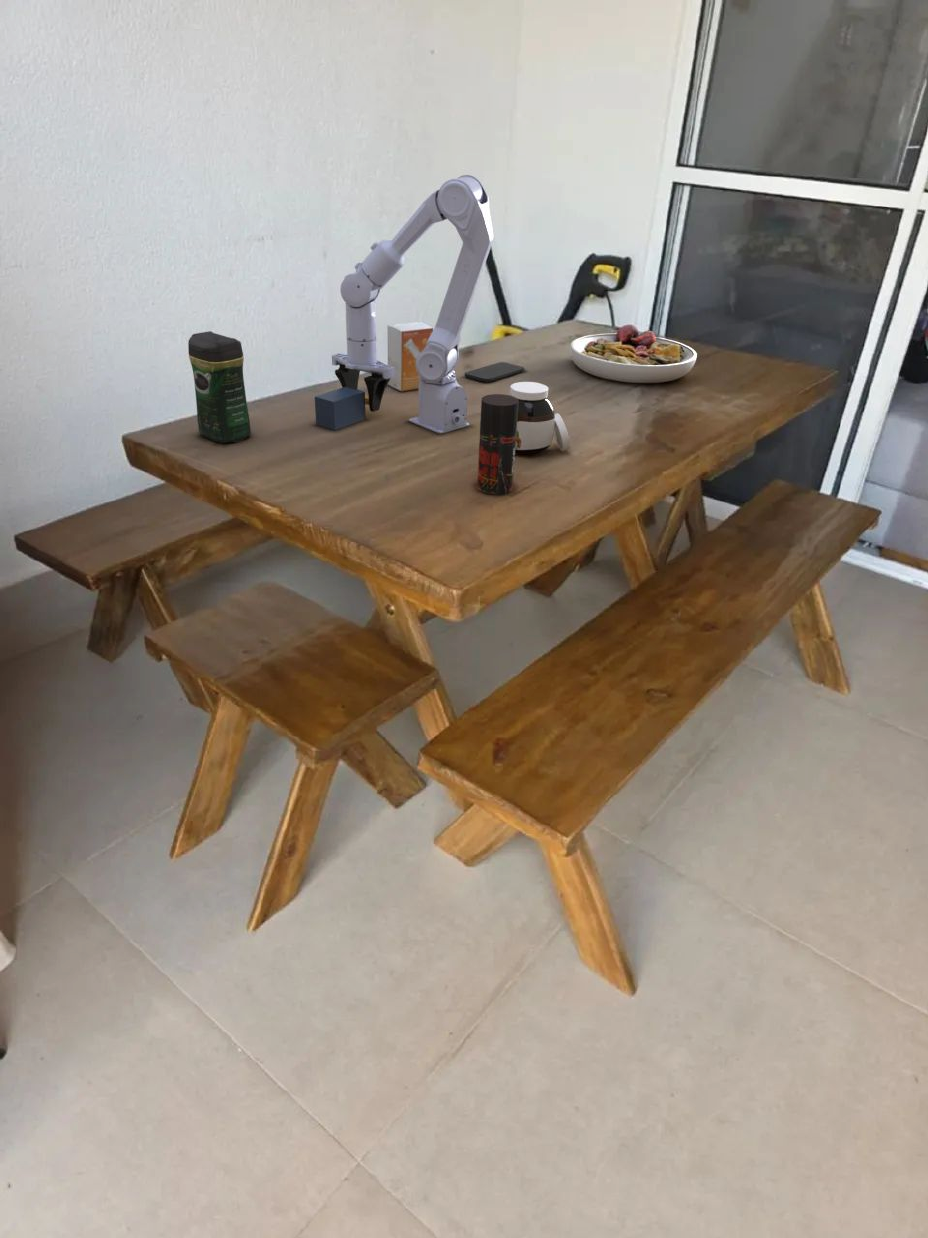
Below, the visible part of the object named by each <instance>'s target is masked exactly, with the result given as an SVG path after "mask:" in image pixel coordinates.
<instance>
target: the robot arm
mask: <svg viewBox="0 0 928 1238" xmlns="http://www.w3.org/2000/svg"><path fill="white" fill-rule="evenodd" d="M445 220H447V221H449V222H450V223H451V224H452V225H453V226H454V227H455V229H456V231H457V233H458V235H459V237H460V239H461V241H462V245H461V249H460V251H459V255H458V257H457V260H456V263H455V266H454V270H453V272H452V275H451V278H450V281H449V284H448V287H447V290H446V293H445V296H444V298H443V302H442V305H441V307H440V310H439V314H438V317H437V320H436V322H435V326H434V327H433V332H432V334H431V335H430V337H429V339H428V342H427V345H426V347H425V348H424V350H423V351H421V352H420V353H419V355H418V356H417V358H416V363H415V364H416V370H417V373H418V374H419V389H418V410H417V411H418V413H417V414H418V416H415V417H411V418H409V419H408V421H409V422H410V423H412V424H415V425H416V426H419V427H421V428H424V429H427V430H430V431H431V432H435V433H437V434H440V435H441V434H446V433H449V432H452V431H453V432H454V431H456V430H459V429H462V428H466V427H469V426H470V423H469V422H467V413H468V412H467V411H468V393H467V391H466V389H465V387H463V386H462V385H460V384H459V383H458V381H457V375H456V372H455V369H454V368H455V367H456V365H457V364H458V362H459V359H460V353H459V352H460V351H459V345H460V343H461V339H462V338H461V337H462V336H461V334H462V333H461V332H462V329H463V328H464V324H465V321H466V318H467V316H468V312H469V310H470V306H471V304H472V302H473V299H474V295H475V293H476V290H477V287H478V285H479V282H480V279H481V276H482V273H483V271H484V268H485V265H486V262H487V260H488V256H489V254H490V251H491V249H492V245H493V243H494V231H493V229H494V228H493V224H492V217H491V210H490V196H489V195H488V193H487V191H486V188H484V185H483V184H482V182H481V181H480V180H479V179H478V177H476V176H474V175H470V174H464V175H461V176H458V177H457V178H450V179H448V180H446V181H445V182H444V183H442V184H441V186H440V188H438V189H436V190H435V191H434V192H433V193H431V194H430V195H429V196H428V197H427V198H426V199H425V200H424V201H423V202H422V203H421V204H420V206H419V207H418V208H417V210H415V211H414V213H413V214H412V215H411V216H410V218H409V219H408V220H407V221H406V223H404V225H403V226H402V227H401V229H400V230H398V232H397V233H396V234H395V236H394V237H393V238H392V239H391V240H390V239H381V240H380V241H379V242H378V241H376V242H374V243H373V244H372V245H371V246H370V249H371V252H369V254H368V255H367V256H366V257H365V258H364V259H363V260H362V262H357V263H356V264H355V265H354V269H355V271H354V272H352V273H348V274H347V275H345V276H344V279H343V280H342V282H341V284H340V296H341V298H342V299H343V301H344V302H345V331H346V332H345V333H346V353H347V354H344V353H339V352H338V353H335V354H334V353H333V354H332V355H331V365H332V366H339V367H338V368H337V369H335V370H334V375H335V376H336V378H337V379H338V382H339V383H340V385H341V388H343V387H345V386H346V387H350V388H353V389H357V390H359V389H358V388H359V379H360V373H361V372H363V373H368V374H371V375H368V376H365V377H363V381H364V383H365V386H366V390H367V394H368V397H369V405H368V407H369V411H370V412H372V413H374V412H377V411H380V408H381V405H382V399H383V396H384V393H385V390H386V388H387V386H388V382H389V380H390V378H392V377H394V367H391V366H388V364H386V363H384V362H382V361H380V360H379V359H378V356H377V355H378V354H377V352H378V351H377V312H376V310H377V309H376V299H377V298H378V297H379V295H380V292H381V290H383V288H385V286H386V285H387V284H388V283H389V282H390V281H391V280H392V279H393V277H395V275H396V274H397V273H398V272H400V270H401V269H402V268H403V267H404V266H405V263H406V261H405V260H406V259H405V257H406V256H405V255H406V253H407V252H408V251H409V250H410V249H411V248H412V247H413V246H414V244H416V242H418V241H419V240H420V239H421V237H423V236H424V234H426V232H428V230H429V229H430V228H431V227H432V226H434V224H436V223H437V224H438V223H440V222H443V221H445Z"/></svg>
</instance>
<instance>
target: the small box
mask: <svg viewBox="0 0 928 1238" xmlns="http://www.w3.org/2000/svg"><path fill="white" fill-rule="evenodd" d="M386 326H387V328H386V329H387V330H386V331H387V365H388V366H391V367H394V377H392V378H390V380H389V382H388V384H387V386H390V387H392V388H393V389H396V390H397V391H400V392H406V391H413V390H419V374H418V373H417V370H416V364H415V363H416V358H417V356H418V355H419V353H420V352H421V351H423V350H424V348H425V347H426V345H427V342H428V339H429V337H430V335H431V334H432V332H433V330H434V327H432V326H430V325H428V324H425V323H423V322H421V321H415V322H414V321H413V322H402V323H401V322H400V323H396V324H387V325H386Z"/></svg>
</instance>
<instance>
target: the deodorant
mask: <svg viewBox="0 0 928 1238" xmlns="http://www.w3.org/2000/svg"><path fill="white" fill-rule="evenodd" d="M480 401H481V405H480V422H479V444H478V464H477V465H478V467H477V483H476V485H477V487H476V488H477V490H478V491H479V492H481V493H484V494H487V495H493V496H499V495H500V496H502V495H507V494H509V493H511V492H512V491H513V488H514V486H513V485H514V475H515V474H514V473H515V459H516V458H515V457H516V454H515V446H516V432H517V418H518V404H519V400H518V399H517V398H516V397H513V396H510V394H503V393H493V394H486V395H484V396H482V397H481V400H480Z"/></svg>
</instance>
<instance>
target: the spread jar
mask: <svg viewBox="0 0 928 1238" xmlns="http://www.w3.org/2000/svg"><path fill="white" fill-rule="evenodd" d="M509 388H510V390H509V395H510V396H513V397H516V398H517V399H518V400H519V404H518V418H517V432H516V446H515V455H517V456H524V457H525V456H526V457H532V456H537V455H540V454H541V453H543V452H545V451H546V450H547V449H549V448H550V447H551V445H552V443H553V439H554V440H555V443H556V445H557V447H558V448H559V450H560V451H561V452H564V451H566V450H570V447H571V441H570V437H569V433H568V429H567V427H566V424H565V422H564V419H563V418H562V416H561V415H560V414H559V413H555V409H554V406H553V405H552V403H551V401H550V400H549V398H548V396H549V387H548V386H547V385H545V384H543V383H540V382H534V381H518V382H514V383H512V384H511V385H510V387H509Z"/></svg>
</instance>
